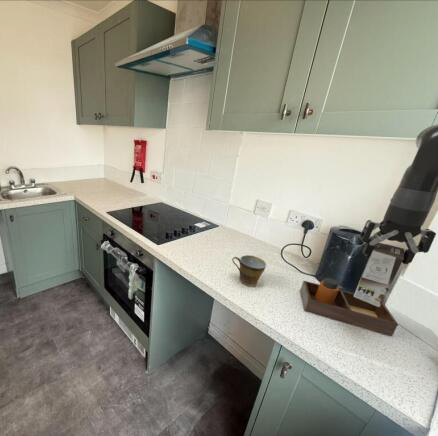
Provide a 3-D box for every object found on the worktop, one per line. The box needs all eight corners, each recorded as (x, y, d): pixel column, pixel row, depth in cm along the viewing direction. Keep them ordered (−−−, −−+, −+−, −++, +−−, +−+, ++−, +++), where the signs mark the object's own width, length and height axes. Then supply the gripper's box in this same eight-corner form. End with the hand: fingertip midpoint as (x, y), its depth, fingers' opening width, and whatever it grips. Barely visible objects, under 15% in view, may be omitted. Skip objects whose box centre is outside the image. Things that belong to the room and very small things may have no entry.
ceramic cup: (262, 280, 104) (268, 260, 100) (258, 292, 96) (263, 271, 93) (232, 269, 111) (236, 250, 107) (225, 280, 103) (229, 259, 99)
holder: (299, 292, 98) (303, 280, 96) (375, 313, 89) (381, 300, 87) (303, 312, 87) (308, 299, 85) (390, 338, 78) (398, 324, 76)
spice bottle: (328, 303, 91) (338, 279, 87) (332, 313, 87) (343, 287, 82) (311, 298, 93) (320, 274, 89) (314, 308, 89) (323, 282, 84)
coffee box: (380, 308, 69) (404, 259, 64) (352, 296, 74) (372, 249, 68) (384, 294, 75) (406, 248, 69) (357, 284, 80) (376, 240, 74)
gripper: (381, 204, 63) (358, 259, 69) (457, 214, 58) (425, 272, 64) (370, 197, 69) (350, 248, 75) (437, 205, 64) (410, 259, 70)
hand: (384, 259), depth 70 cm, fingers closed on coffee box, 8 cm apart
